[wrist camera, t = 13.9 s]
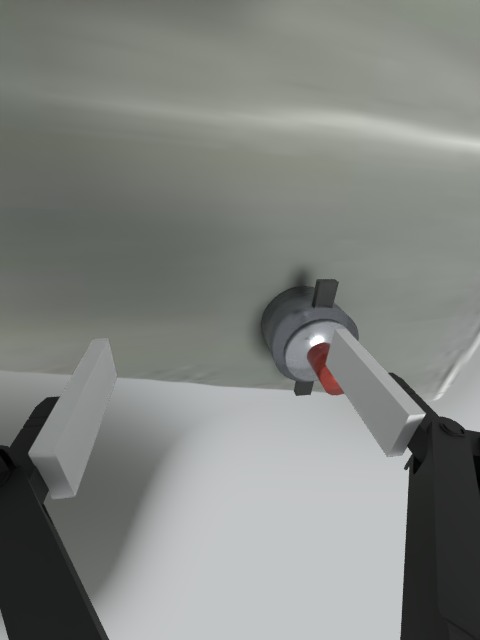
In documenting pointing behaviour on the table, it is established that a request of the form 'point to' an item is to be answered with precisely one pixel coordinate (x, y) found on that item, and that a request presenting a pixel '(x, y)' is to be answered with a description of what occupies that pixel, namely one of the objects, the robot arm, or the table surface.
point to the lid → (312, 353)
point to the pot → (300, 320)
